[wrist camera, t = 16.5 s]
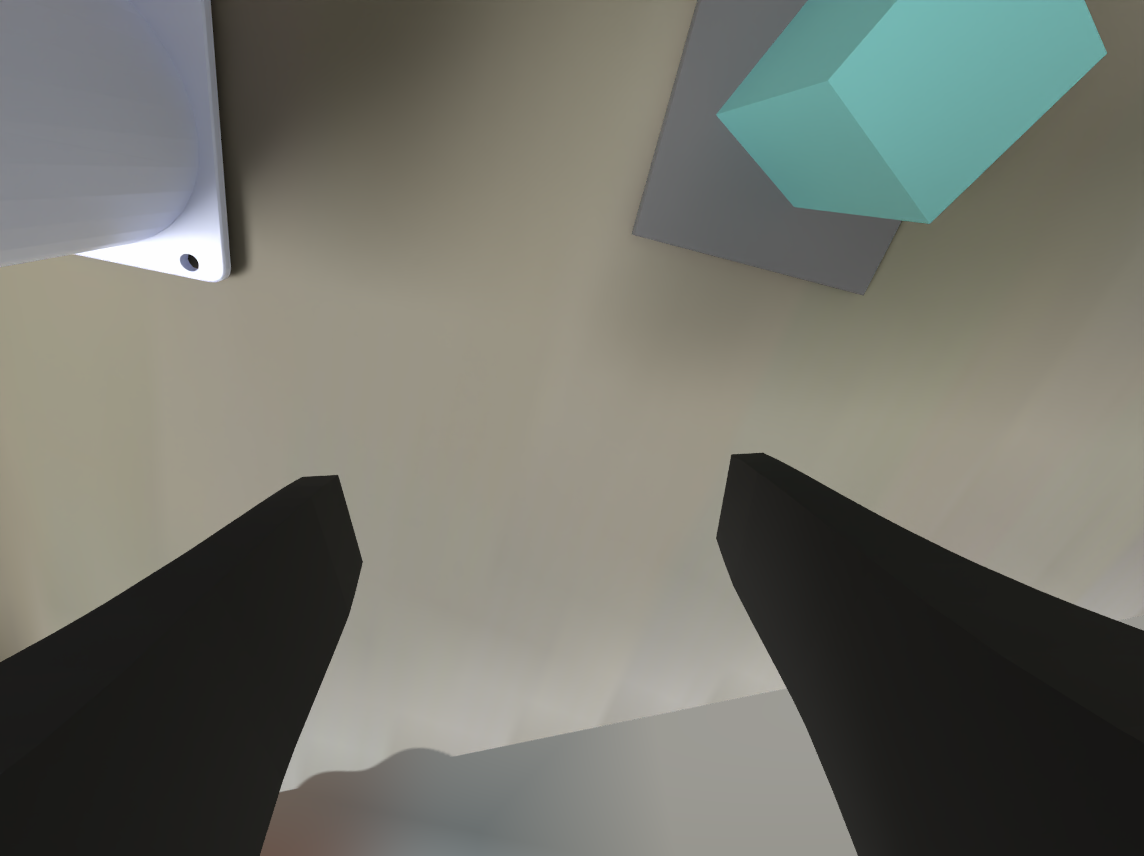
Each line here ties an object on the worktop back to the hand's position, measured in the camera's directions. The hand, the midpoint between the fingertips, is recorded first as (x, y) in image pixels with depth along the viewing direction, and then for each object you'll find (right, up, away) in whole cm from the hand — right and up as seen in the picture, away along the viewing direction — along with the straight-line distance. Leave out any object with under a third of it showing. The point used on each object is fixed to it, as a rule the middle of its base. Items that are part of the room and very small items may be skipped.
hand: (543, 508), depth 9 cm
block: (+8, +11, +5) cm, 15 cm away
